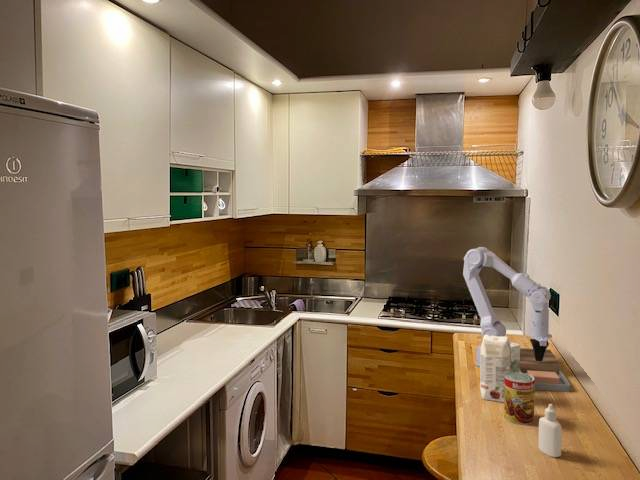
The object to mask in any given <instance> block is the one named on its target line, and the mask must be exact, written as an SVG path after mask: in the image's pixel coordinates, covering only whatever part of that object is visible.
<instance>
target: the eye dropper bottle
mask: <svg viewBox="0 0 640 480" xmlns="http://www.w3.org/2000/svg"><path fill="white" fill-rule="evenodd" d="M562 428H563V427H562V425H561V423H560V422H559V421H558V420H557V411H556V409H554V408H553V404H552V403H549V404H548V407H546V408H545V409H544V416H542V417H540V418H539V420H538V442H537V443H538V444H537V445H538V449H539V450H540V451H541V452H542V453H543V454H545V455H547V456H548V457H551V458H558V457H561V456H562V436H563V435H562V433H563V432H562Z"/></svg>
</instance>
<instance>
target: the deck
mask: <svg viewBox="0 0 640 480" xmlns="http://www.w3.org/2000/svg"><path fill="white" fill-rule="evenodd" d="M519 368H520V370H521V373H527V370H529V371H546V372H556V374H557V375H559V371H561V372H562V364H561V362H559V360H558V358H557V357H556V356H555V354H554V353H553V352H552V350H551V349H546V350H545V354H544V358H543V361H536V360H535V356H534V350H533V348H525V347H524V348H521V347H520V367H519Z"/></svg>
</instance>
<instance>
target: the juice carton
mask: <svg viewBox="0 0 640 480" xmlns="http://www.w3.org/2000/svg"><path fill="white" fill-rule="evenodd" d="M510 342H511V341H510V337H509V336H506V335H505V336H492V335H484V338H482V340H481V362H480V371H479V372H480V375H479V377H480V379H479V380H480V381H479V386H480V387H479V388H480V390H479V391H480V394H481V398H482V400H485V401H492V402H493V401H494V402H499V403H504V375H505V374H506V373H510V364H511V345H510Z"/></svg>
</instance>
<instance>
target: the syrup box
mask: <svg viewBox="0 0 640 480" xmlns="http://www.w3.org/2000/svg"><path fill="white" fill-rule="evenodd" d="M510 345H511V364H510V372H519V367H520V348H521V344H519V343H516V342H514V341H510Z"/></svg>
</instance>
